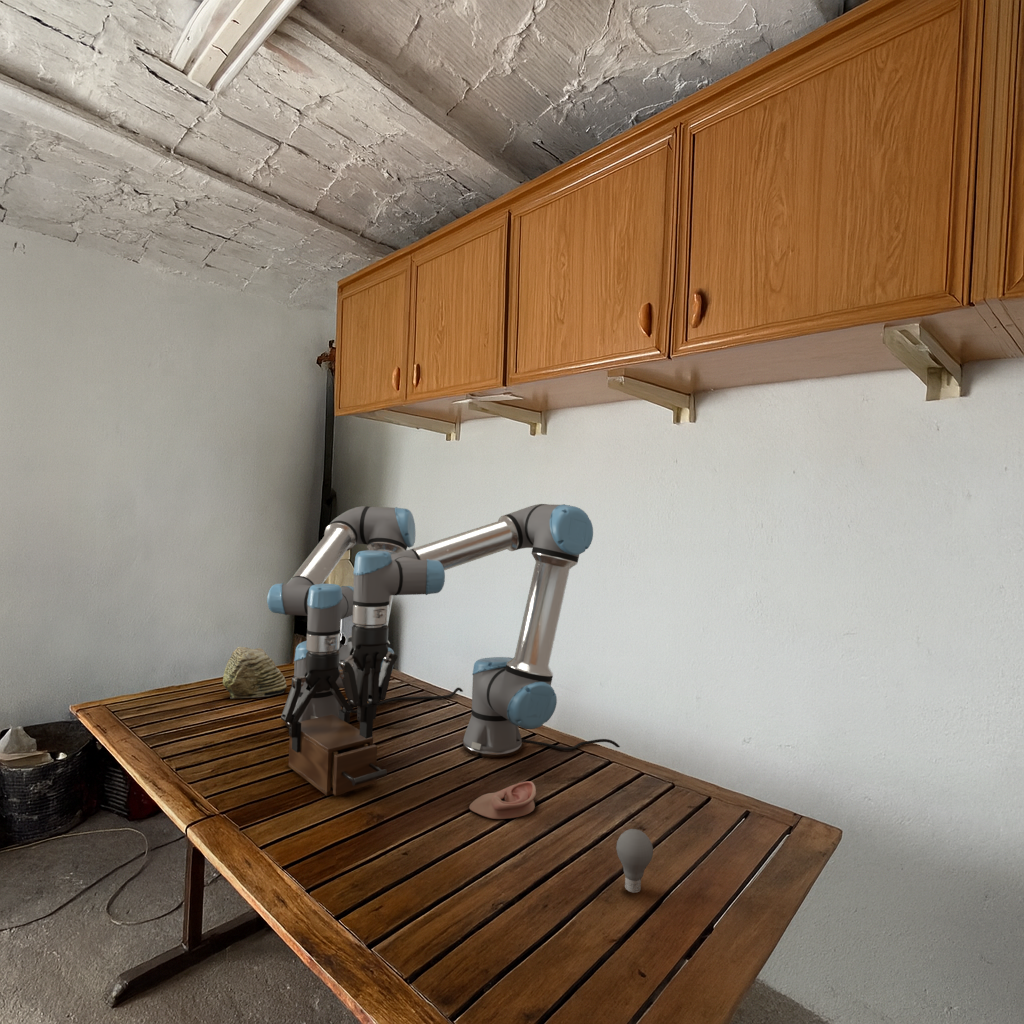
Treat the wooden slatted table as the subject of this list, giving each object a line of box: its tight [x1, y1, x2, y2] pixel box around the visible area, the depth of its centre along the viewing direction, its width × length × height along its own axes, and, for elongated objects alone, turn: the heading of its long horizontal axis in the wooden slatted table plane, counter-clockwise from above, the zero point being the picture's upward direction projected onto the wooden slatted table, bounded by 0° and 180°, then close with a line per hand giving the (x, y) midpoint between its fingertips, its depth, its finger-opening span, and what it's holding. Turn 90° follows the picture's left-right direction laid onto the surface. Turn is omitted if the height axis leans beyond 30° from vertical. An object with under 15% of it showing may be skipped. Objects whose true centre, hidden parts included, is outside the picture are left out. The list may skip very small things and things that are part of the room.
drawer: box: [330, 743, 388, 796], centre depth 140 cm, size 24×10×8 cm, turn 44°
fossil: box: [222, 646, 288, 699], centre depth 198 cm, size 9×18×15 cm, turn 132°
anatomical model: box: [468, 780, 537, 820], centre depth 133 cm, size 13×4×12 cm
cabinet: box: [288, 714, 374, 797], centre depth 145 cm, size 19×11×10 cm, turn 44°
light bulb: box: [615, 828, 654, 894], centre depth 106 cm, size 6×6×10 cm
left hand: (319, 744), depth 148 cm, fingers closed on cabinet, 11 cm apart
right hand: (365, 735), depth 133 cm, fingers closed
